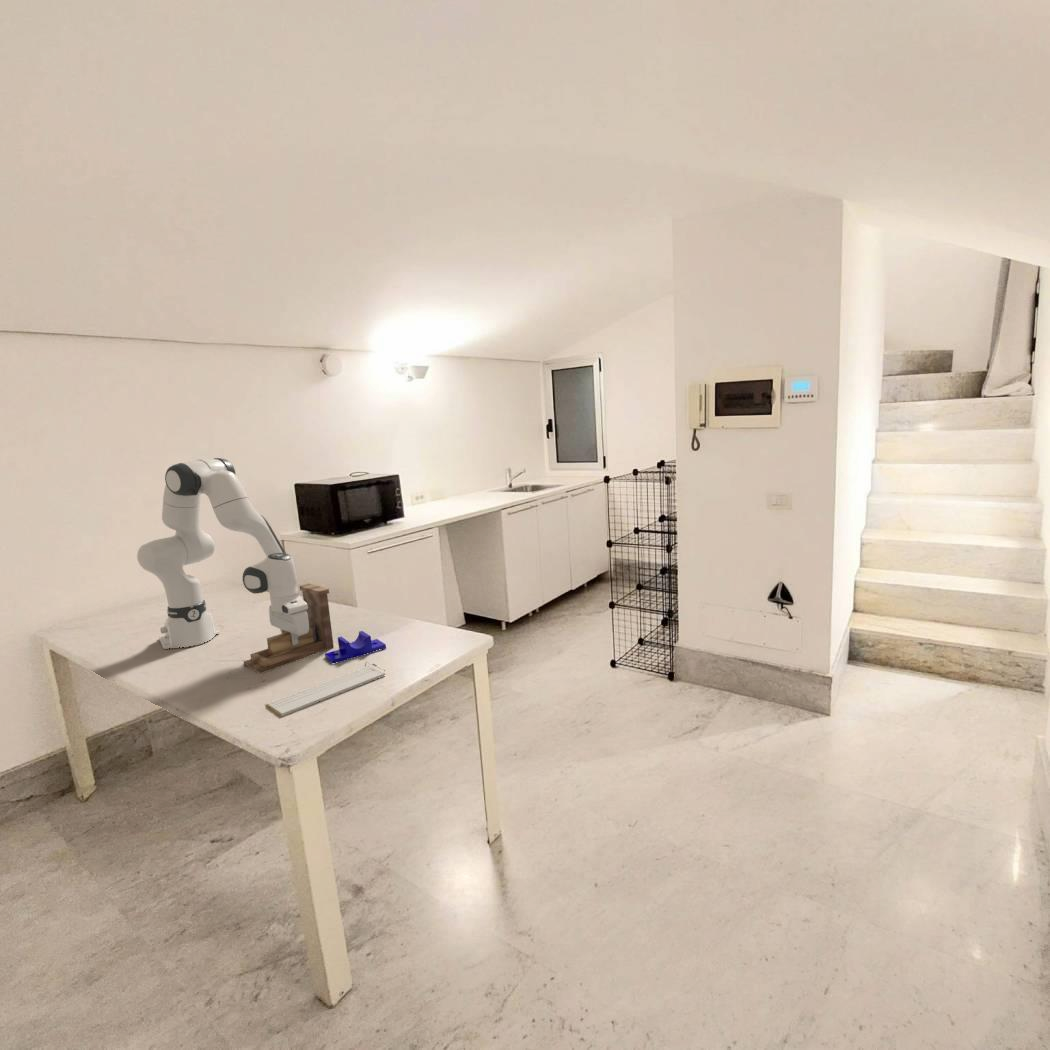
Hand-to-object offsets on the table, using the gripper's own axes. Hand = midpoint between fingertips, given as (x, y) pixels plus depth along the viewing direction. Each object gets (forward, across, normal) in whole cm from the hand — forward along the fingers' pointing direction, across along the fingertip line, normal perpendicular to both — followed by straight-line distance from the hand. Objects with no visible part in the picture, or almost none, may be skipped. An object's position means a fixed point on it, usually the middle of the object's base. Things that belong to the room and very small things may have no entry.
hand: (291, 642), depth 197 cm
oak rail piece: (+2, 0, 0) cm, 2 cm away
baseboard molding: (+5, +34, -7) cm, 35 cm away
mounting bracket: (+5, +17, +13) cm, 22 cm away
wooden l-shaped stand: (+4, 0, -1) cm, 4 cm away
